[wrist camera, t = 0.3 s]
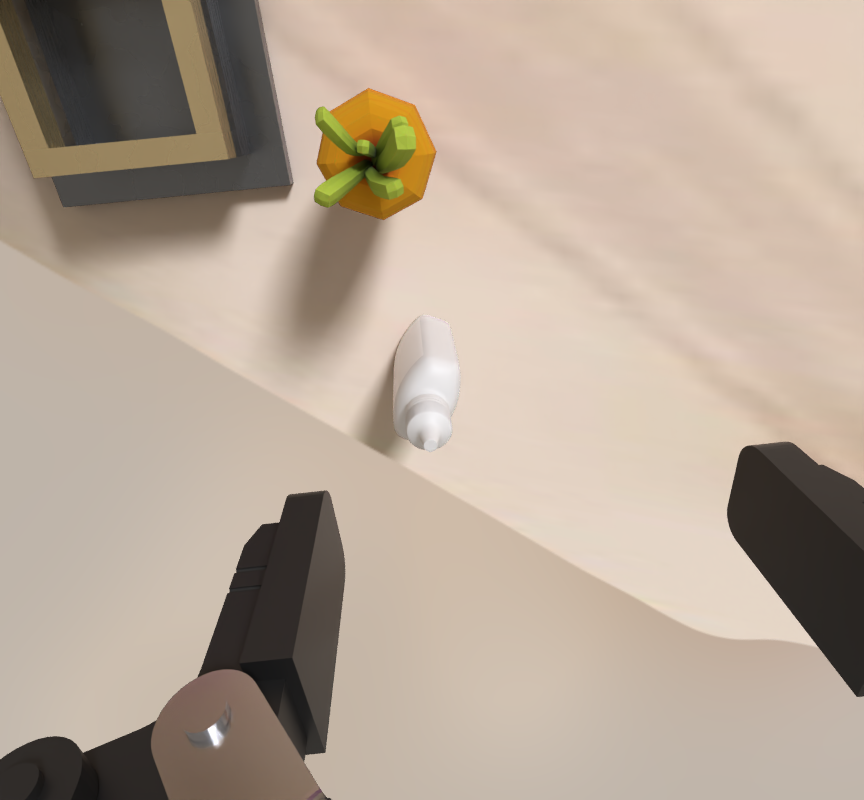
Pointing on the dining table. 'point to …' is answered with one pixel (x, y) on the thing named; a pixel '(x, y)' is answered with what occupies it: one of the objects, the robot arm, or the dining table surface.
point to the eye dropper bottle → (426, 383)
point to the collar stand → (142, 97)
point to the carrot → (373, 155)
